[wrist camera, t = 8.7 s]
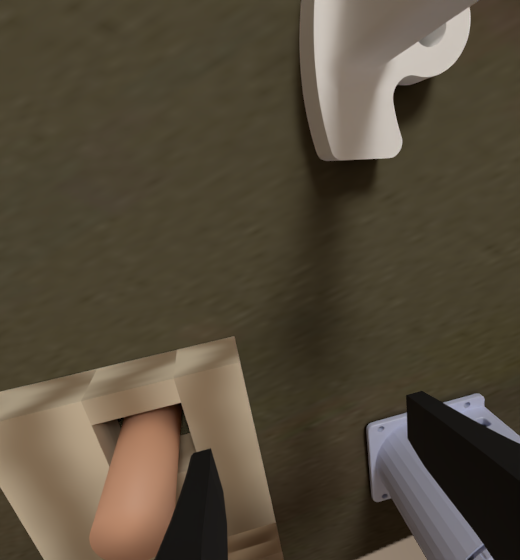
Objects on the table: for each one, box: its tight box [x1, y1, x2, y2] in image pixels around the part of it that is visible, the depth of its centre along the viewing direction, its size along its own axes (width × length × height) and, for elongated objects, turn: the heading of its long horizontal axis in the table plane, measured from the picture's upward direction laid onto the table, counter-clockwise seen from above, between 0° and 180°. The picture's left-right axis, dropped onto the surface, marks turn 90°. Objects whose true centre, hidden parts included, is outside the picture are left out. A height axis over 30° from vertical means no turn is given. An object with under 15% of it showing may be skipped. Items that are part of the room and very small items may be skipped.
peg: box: [89, 403, 182, 560], centre depth 18 cm, size 3×3×8 cm
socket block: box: [0, 336, 284, 560], centre depth 20 cm, size 14×14×7 cm
